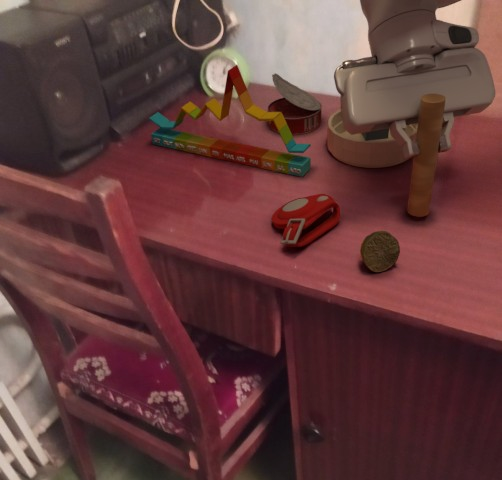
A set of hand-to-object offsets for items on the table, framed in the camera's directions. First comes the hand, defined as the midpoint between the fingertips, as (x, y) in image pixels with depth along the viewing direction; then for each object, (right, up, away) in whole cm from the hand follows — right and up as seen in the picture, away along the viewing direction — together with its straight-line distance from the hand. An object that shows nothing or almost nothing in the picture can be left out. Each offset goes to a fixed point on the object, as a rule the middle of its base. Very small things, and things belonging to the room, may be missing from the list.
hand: (428, 153), depth 77 cm
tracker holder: (-16, -9, +7) cm, 20 cm away
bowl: (-3, +8, +23) cm, 25 cm away
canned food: (-15, +15, +32) cm, 39 cm away
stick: (+1, -6, +6) cm, 9 cm away
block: (-2, +11, +25) cm, 27 cm away
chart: (-27, +7, +24) cm, 37 cm away
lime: (-7, -15, 0) cm, 16 cm away
